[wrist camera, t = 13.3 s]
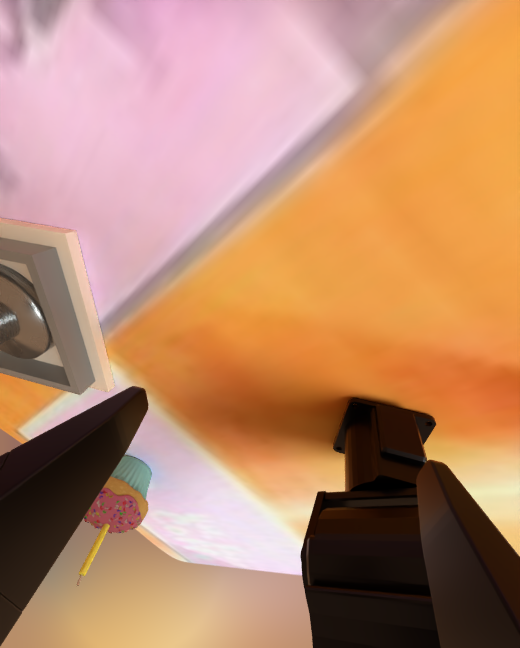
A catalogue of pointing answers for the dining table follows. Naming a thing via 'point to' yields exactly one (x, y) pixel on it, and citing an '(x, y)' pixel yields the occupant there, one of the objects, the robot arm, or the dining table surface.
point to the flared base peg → (21, 317)
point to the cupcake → (119, 503)
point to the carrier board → (57, 308)
